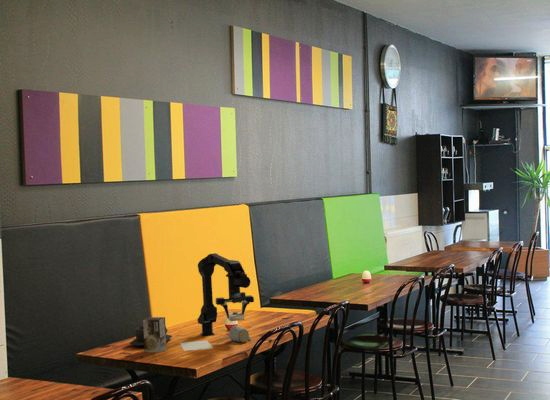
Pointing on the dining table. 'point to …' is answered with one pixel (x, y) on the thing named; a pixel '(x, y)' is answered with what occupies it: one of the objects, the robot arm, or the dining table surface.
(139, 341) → the casserole
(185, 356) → the dining table surface
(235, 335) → the ceramic mug
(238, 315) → the lid
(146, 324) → the coffee box
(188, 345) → the mat
